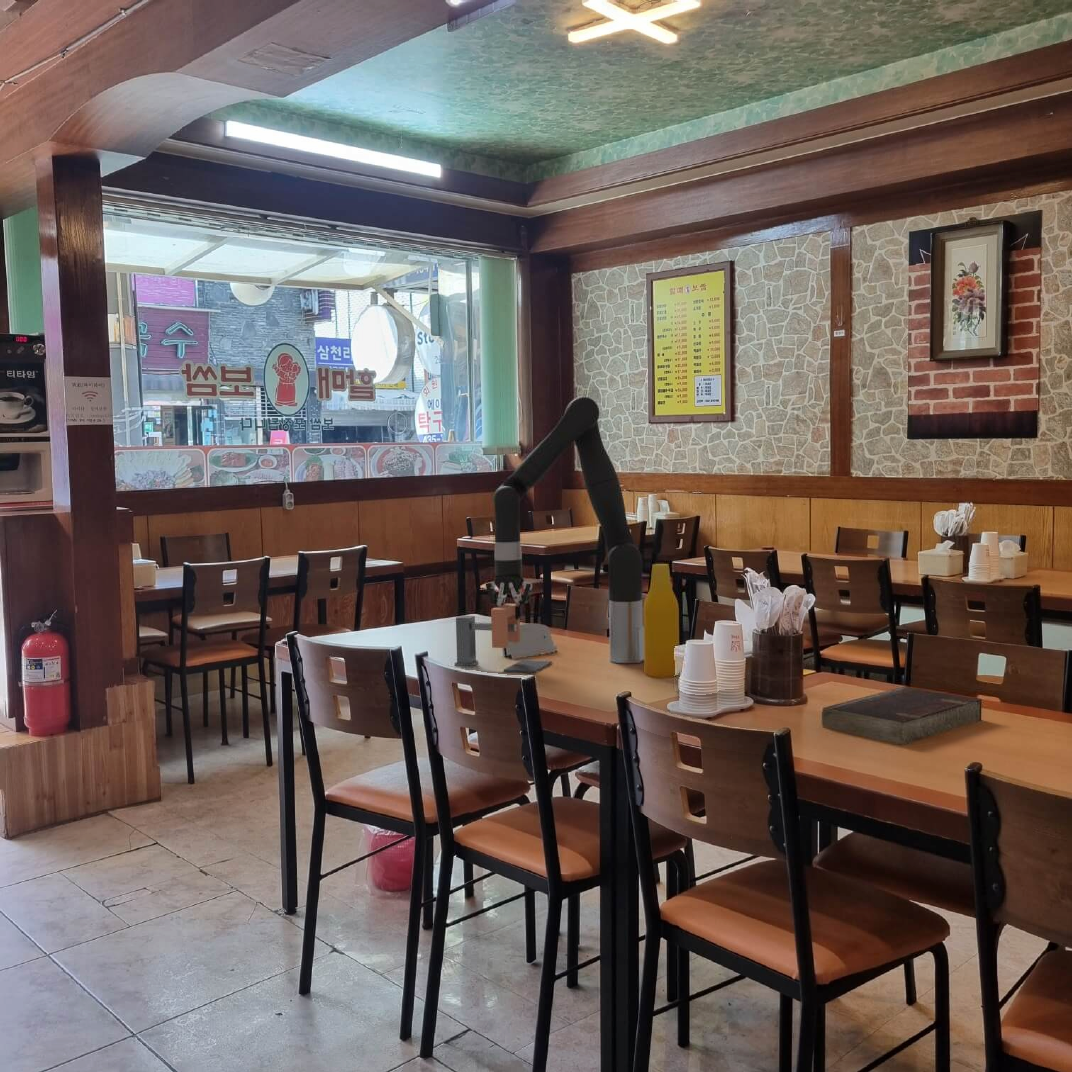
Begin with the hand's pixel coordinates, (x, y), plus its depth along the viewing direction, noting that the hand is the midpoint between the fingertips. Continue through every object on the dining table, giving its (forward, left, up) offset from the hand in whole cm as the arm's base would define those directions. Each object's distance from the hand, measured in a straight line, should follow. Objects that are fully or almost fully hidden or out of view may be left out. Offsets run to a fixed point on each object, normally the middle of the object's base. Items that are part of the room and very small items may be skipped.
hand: (510, 618), depth 291 cm
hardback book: (-104, +40, -14) cm, 112 cm away
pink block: (0, +4, -7) cm, 7 cm away
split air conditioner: (+1, -16, -13) cm, 21 cm away
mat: (-6, +4, -13) cm, 15 cm away
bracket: (+6, +4, -13) cm, 15 cm away
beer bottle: (-44, +4, -13) cm, 46 cm away
